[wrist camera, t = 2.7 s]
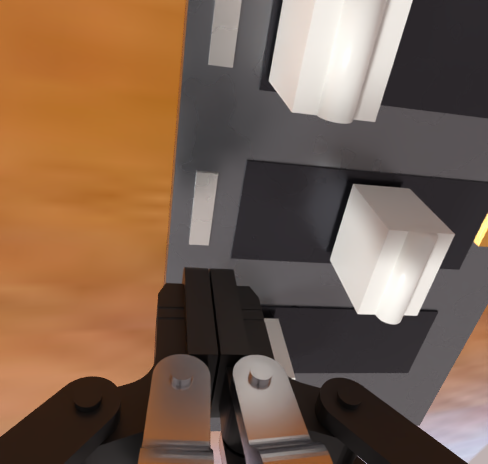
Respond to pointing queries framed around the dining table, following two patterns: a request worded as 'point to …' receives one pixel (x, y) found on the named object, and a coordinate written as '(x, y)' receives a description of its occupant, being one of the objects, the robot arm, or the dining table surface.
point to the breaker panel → (334, 189)
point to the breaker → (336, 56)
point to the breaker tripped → (388, 251)
